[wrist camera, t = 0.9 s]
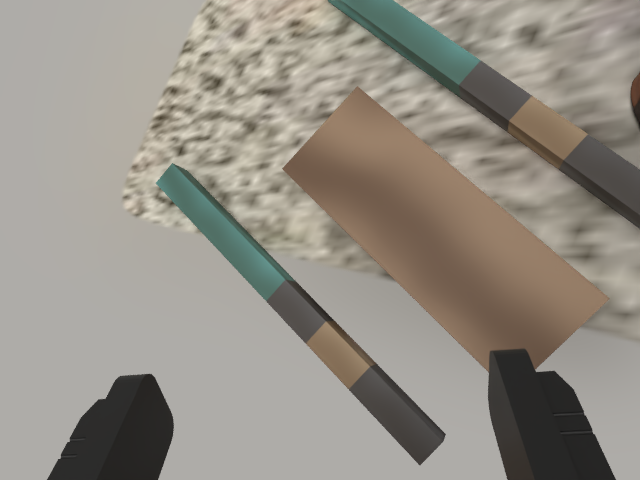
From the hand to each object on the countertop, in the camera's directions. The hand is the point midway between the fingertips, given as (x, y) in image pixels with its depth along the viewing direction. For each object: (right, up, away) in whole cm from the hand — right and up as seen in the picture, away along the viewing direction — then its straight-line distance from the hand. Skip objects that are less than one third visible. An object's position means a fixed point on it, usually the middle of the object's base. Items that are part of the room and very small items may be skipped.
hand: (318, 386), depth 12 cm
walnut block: (+8, +3, +21) cm, 23 cm away
